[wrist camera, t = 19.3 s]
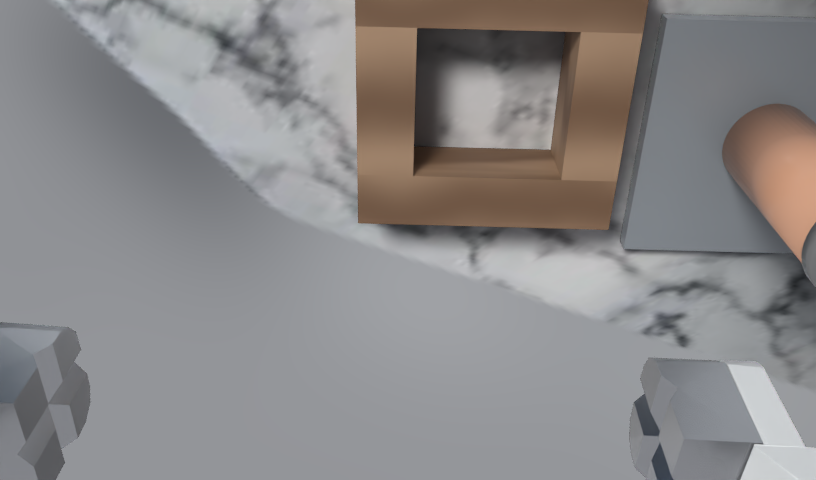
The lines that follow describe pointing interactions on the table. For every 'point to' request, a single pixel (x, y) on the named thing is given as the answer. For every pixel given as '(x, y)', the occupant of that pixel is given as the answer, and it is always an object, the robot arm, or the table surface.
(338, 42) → the table surface
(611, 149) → the walnut holder
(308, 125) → the table surface
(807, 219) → the terracotta jar
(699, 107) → the slate tile
